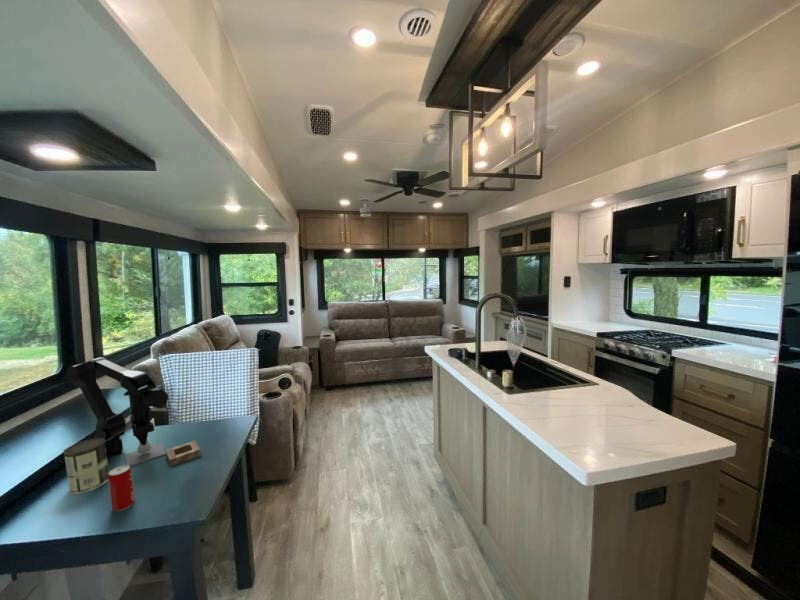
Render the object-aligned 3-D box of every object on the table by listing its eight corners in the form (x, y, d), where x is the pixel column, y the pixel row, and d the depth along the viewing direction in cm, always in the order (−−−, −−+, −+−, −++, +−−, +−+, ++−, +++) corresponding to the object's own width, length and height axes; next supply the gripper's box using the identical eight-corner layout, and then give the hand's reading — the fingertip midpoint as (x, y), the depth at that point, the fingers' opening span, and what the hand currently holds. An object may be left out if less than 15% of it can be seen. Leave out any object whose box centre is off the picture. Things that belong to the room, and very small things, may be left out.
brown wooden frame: (170, 466, 122) (169, 460, 122) (166, 456, 129) (165, 449, 129) (201, 455, 129) (200, 449, 128) (195, 446, 136) (194, 440, 136)
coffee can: (98, 473, 119) (93, 436, 118) (116, 477, 116) (112, 439, 115) (61, 491, 110) (55, 451, 108) (80, 497, 106) (75, 455, 105)
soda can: (136, 505, 101) (132, 468, 100) (113, 515, 98) (108, 476, 96) (133, 497, 105) (129, 461, 104) (111, 506, 101) (106, 469, 100)
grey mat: (126, 468, 122) (126, 466, 122) (124, 455, 131) (124, 454, 131) (165, 455, 130) (165, 453, 130) (161, 444, 139) (161, 442, 139)
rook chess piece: (142, 448, 132) (140, 429, 131) (154, 447, 132) (152, 428, 132) (134, 454, 128) (132, 434, 127) (146, 453, 128) (144, 433, 127)
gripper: (168, 405, 127) (172, 444, 128) (161, 393, 141) (164, 428, 142) (131, 415, 120) (135, 455, 121) (127, 401, 133) (132, 438, 135)
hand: (143, 443), depth 130 cm, fingers open, 3 cm apart
